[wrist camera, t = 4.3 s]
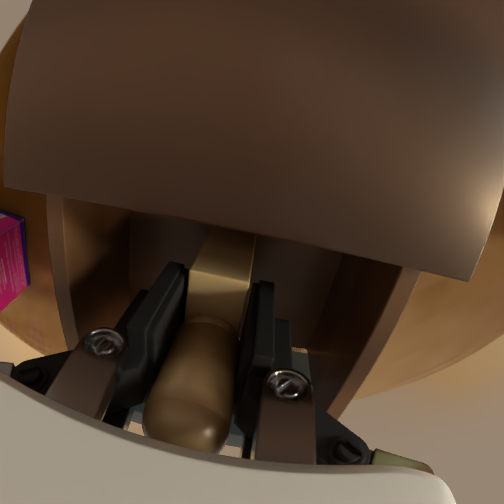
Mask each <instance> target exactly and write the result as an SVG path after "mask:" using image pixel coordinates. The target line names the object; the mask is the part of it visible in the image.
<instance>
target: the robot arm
mask: <svg viewBox="0 0 504 504" xmlns="http://www.w3.org/2000/svg"><path fill="white" fill-rule="evenodd" d="M188 278H189V269H187V268H185V265H184V264H182V263H178V262H173V261H169V262H168V264H167V265H166V267H165V268H164V270H163V271H162V272H161V274H160V275H159V277H158V278H157V280H156V281H155V283H154V284H153V286H152V287H151V289H150V290H149V291H148V290H144V289H141V290H140V291H139V292H138V294H137V295H136V297H135V298H134V299H133V301H132V302H131V304H130V305H129V307H128V308H127V309H126V311H125V312H124V314H123V315H122V317H121V318H120V319H119V321H118V322H117V324H116V325H115V327H114V328H109V327H98V328H94V329H91V330H89V331H88V332H86V333H85V334H84V335H83V336H82V338H81V339H80V341H79V342H78V344H77V345H76V347H75V348H74V350H70V351H65V352H61V353H57V354H53V355H48V356H44V357H40V358H35V359H31V360H27V361H24V362H22V363H20V364H19V365H17V366H16V367H15V366H14V363H8V362H0V504H456V502H455V500H454V497H453V495H452V493H451V491H450V489H449V488H448V486H447V485H446V484H445V483H444V481H442V480H441V479H439V478H438V477H436V476H435V475H434V473H433V470H432V469H431V468H430V467H429V466H428V465H426V464H424V463H422V462H418V461H415V460H412V459H408V458H405V457H401V456H398V455H395V454H392V453H389V452H385V451H382V450H379V449H375V450H374V451H372V450H369V448H368V446H367V445H366V443H365V442H364V441H363V440H362V439H361V438H360V437H358V436H357V435H356V434H354V433H353V432H351V431H350V430H349V429H348V428H346V427H345V426H344V425H342V424H341V423H340V422H338V421H337V420H336V419H335V418H334V417H332V416H331V415H330V414H328V413H327V412H326V411H325V410H323V409H322V408H321V407H320V406H318V405H317V404H316V403H315V402H314V392H313V386H312V383H311V382H310V380H309V379H308V378H307V377H306V376H305V375H304V374H302V373H301V372H299V371H297V370H294V369H293V364H292V348H291V333H290V322H289V320H283V319H278V318H275V284H274V283H273V282H268V281H263V280H260V281H259V283H254V282H253V286H252V290H251V294H250V299H249V303H248V307H247V311H246V316H245V320H244V324H243V329H242V333H241V337H240V355H239V362H238V369H237V376H236V383H235V390H234V397H233V399H234V406H233V413H232V415H235V416H234V423H233V424H236V426H237V427H238V428H239V429H240V430H241V431H242V432H243V433H244V434H243V438H242V444H241V451H240V457H239V458H236V457H229V456H225V455H219V454H214V453H208V452H203V451H199V450H194V449H190V448H185V447H181V446H177V445H173V444H169V443H165V442H162V441H158V440H155V439H151V438H148V437H145V436H141V435H138V434H135V433H132V432H129V431H127V430H128V427H129V424H130V421H131V419H132V416H133V413H134V409H135V406H136V405H139V404H142V403H146V402H147V399H148V397H149V394H150V392H151V389H152V387H153V384H154V382H155V380H156V377H157V375H158V372H159V370H160V367H161V365H162V363H163V360H164V358H165V355H166V353H167V351H168V348H169V346H170V343H171V341H172V339H173V336H174V334H175V332H176V331H177V329H178V328H179V327H180V325H181V324H183V323H184V319H185V308H186V297H187V287H188Z"/></svg>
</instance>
